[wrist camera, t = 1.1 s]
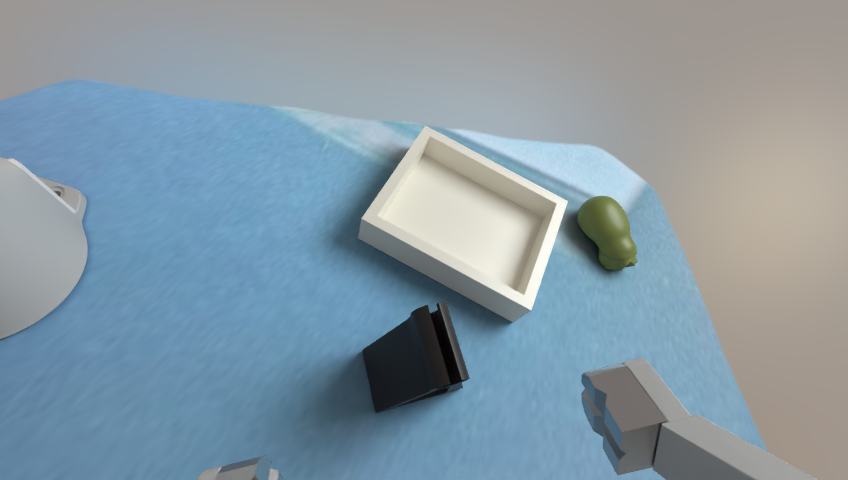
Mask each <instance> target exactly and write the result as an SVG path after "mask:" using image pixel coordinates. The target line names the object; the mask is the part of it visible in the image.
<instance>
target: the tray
mask: <svg viewBox="0 0 848 480" xmlns="http://www.w3.org/2000/svg"><path fill="white" fill-rule="evenodd" d="M567 203H568V201H566V200H564V199H562V198H560V197H559V196H557V195H555V194H553V193H551V192H549V191H547V190H545V189H544V188H542V187H540V186H538V185H536V184H534V183H532V182H530V181H529V180H527V179H525V178H523V177H521V176H519V175H517V174H515V173H513V172H512V171H510V170H508V169H506V168H504V167H502V166H500V165H498V164H497V163H495V162H493V161H491V160H489V159H487V158H485V157H483V156H482V155H480V154H478V153H476V152H474V151H472V150H470V149H468V148H467V147H465V146H463V145H461V144H459V143H457V142H455V141H453V140H452V139H450V138H448V137H446V136H444V135H442V134H440V133H438V132H437V131H435V130H433V129H431V128H429V127H427V126H425V127H424V128H423V130H422V131H421V133H420V134H419V136H418V137H417V139H416V140H415V142H414V143H413V144H412V146H411V147H410V149H409V150H408V152H407V153H406V155H405V156H404V157H403V159H402V160H401V162H400V163H399V165H398V166H397V168H396V169H395V171H394V172H393V173H392V175H391V176H390V178H389V179H388V181H387V182H386V184H385V185H384V186H383V188H382V189H381V191H380V192H379V194H378V195H377V197H376V198H375V200H374V201H373V202H372V204H371V205H370V207H369V208H368V210H367V211H366V213H365V214H364V215H363V217H362V218H361V224H360V229H359V235H358V239H360V240H362V241H364V242H365V243H367V244H369V245H371V246H373V247H375V248H376V249H378V250H380V251H382V252H384V253H386V254H388V255H389V256H391V257H393V258H395V259H397V260H399V261H400V262H402V263H404V264H406V265H408V266H410V267H411V268H413V269H415V270H417V271H419V272H421V273H423V274H424V275H426V276H428V277H430V278H432V279H434V280H435V281H437V282H439V283H441V284H443V285H445V286H447V287H448V288H450V289H452V290H454V291H456V292H458V293H459V294H461V295H463V296H465V297H467V298H469V299H470V300H472V301H474V302H476V303H478V304H480V305H482V306H483V307H485V308H487V309H489V310H491V311H493V312H494V313H496V314H498V315H500V316H502V317H504V318H505V319H507V320H509V321H511V322H515V321H516V320H518V319H519V318H521V317H522V316H524V315H525V314H527V313H528V312H530V311H531V310H532V307H533V304H534V301H535V298H536V295H537V292H538V289H539V286H540V283H541V280H542V277H543V274H544V271H545V268H546V265H547V262H548V259H549V256H550V253H551V250H552V247H553V244H554V241H555V238H556V235H557V232H558V229H559V226H560V223H561V220H562V217H563V214H564V211H565V208H566V206H567Z"/></svg>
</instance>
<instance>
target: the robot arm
mask: <svg viewBox="0 0 848 480" xmlns="http://www.w3.org/2000/svg"><path fill="white" fill-rule="evenodd" d="M58 195H60V196H58ZM86 203H87V201H86V197H85V196H84V195H83V194H82V193H81V192H79V191H78V190H76V189H74V188H71V187H68V186H65V185H62V184H59V183H56V182H53V181H50V180H47V179H44V178H41V177H38V176H35V175H34V174H33V173H31V172H30V171H29V170H28V169H27V168H26V167H24V166H23V165H22V164H21V163H19V162H18V161H16V160H14V159H12V158H10V159H4V158H2V157H0V339H2V338H5V337H7V336H10V335H12V334H15V333H17V332H19V331H21V330H23V329H25V328H27V327H29V326H31V325H32V324H34V323H36V322H37V321H39V320H40V319H42V318H43V317H45V316H46V315H47V314H49V313H50V312H51V311H52V310H54V309H55V308H56V307H57V306H58V305H59V304H60V303H61V302H62V301H63V300H64V299H65V298H66V297H67V296H68V295H69V294H70V292H71V291H72V290H73V288H74V287H75V285H76V284H77V282H78V281H79V279H80V277H81V275H82V273H83V270H84V268H85V264H86V260H87V253H88V247H87V240H86V236H85V233H84V230H83V225H82V219H83V216H84V213H85V209H86ZM582 384H583V386H584V387H585V390H584V391H583V392H582V393H581V395H582V404H583V408H584V412H585V414H586V417H587V419H588V421H589V423H590V425H591V427H592V429H593V431H595V432H596V433H598V434H599V435H601V436H602V437H603V449H604V451H605V453H606V455H607V457H608V459H609V460H610V462H611V464H612V466H613V468H614V470H615V471H616V473H617V475H621V474H625V473H629V472H634V471H638V470H643V469H647V468H651V467H653V470H654V471H656V472H657V473H658V474H660V475H661V476H662V477H664V478H665V479H666V480H818V479H816V478H814V477H812V476H810V475H808V474H806V473H805V472H803V471H801V470H799V469H797V468H795V467H793V466H792V465H790V464H788V463H786V462H784V461H782V460H781V459H779V458H777V457H775V456H773V455H771V454H769V453H768V452H766V451H764V450H762V449H760V448H758V447H756V446H755V445H753V444H751V443H749V442H747V441H745V440H744V439H742V438H740V437H738V436H736V435H734V434H732V433H731V432H729V431H727V430H725V429H723V428H721V427H719V426H718V425H716V424H714V423H712V422H710V421H708V420H706V419H705V418H703V417H701V416H699V415H692V416H691V415H690V414H689V413H688V412H687V410H686V409H685V408H684V406H683V405H682V404H681V403H680V401H679V400H678V399H677V398H676V396H675V395H674V394H673V393H672V391H671V390H670V389H669V388H668V386H667V385H666V384H665V383H664V381H663V380H662V379H661V378H660V376H659V375H658V374H657V373H656V371H655V370H654V369H653V368H652V366H651V365H650V364H649V363H648V361H646V360H645V359H643V358H638V359H634V360H631V361H627V362H624V363H618V364H614V365H610V366H607V367H603V368H600V369H596V370H592V371H589V372H585V373H583V375H582ZM271 463H272V462H271V461H270V460H269V459H268V458H267V456H266V455H265V456H261V457H257V458H253V459H249V460H245V461H241V462H237V463H233V464H229V465H224V466H220V467H216V468H213V469H209V470H205V471H203V472H202V473H201V475H200V476H199V477H198V479H197V480H284V478H283V476H282V475H281V473H280V472H279V471H276V470H273V469H270V468H271Z"/></svg>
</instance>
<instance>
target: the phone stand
mask: <svg viewBox="0 0 848 480" xmlns="http://www.w3.org/2000/svg"><path fill="white" fill-rule="evenodd" d="M437 307H438V310H436V311H434V312H432V313H430V312H429V308H428V305H426V306H423V307H420V308H418V309H416V310H414V311H413V312H412V313H411V316H410V317H409V318H408V319H407V320H406V321H404V322H403V323H402V324H400V325H399V326H397V327H396V328H394V329H393V330H391V331H390V332H388V333H387V334H385V335H384V336H382V337H381V338H379V339H378V340H376V341H375V342H374V343H372V344H371V345H369V346H368V347H366V348H365V349H363V355H364V360H365V365H366V369H367V374H368V379H369V383H370V388H371V393H372V398H373V402H374V407H375V412H376V413H378V412H381V411H385V410H388V409H392V408H395V407H399V406H402V405H406V404H409V403H412V402H416V401H419V400H423V399H426V398H430V397H433V396H437V395H440V394H443V393H447V392H450V391H454V390H457V389H461V388H463V386H462V382H464V381H466V380H468V379H470V378H469V375H468V372H467V369H466V366H465V362H464V359H463V356H462V353H461V350H460V346H459V343H458V340H457V337H456V333H455V330H454V327H453V324H452V321H451V317H450V314H449V311H448V308H447V305H446V303H437Z"/></svg>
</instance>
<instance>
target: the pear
mask: <svg viewBox="0 0 848 480" xmlns="http://www.w3.org/2000/svg"><path fill="white" fill-rule="evenodd" d="M578 223H579V225H580V227H581V229H582V230H583V232H584V233H585V234H586V235H587V236H588V237H589V238H590V239H592V240H593V241H594V242H595V243H596V244H597V246H598V248H599V261H600V263H601V264H602V265H603V266H604V267H605V269H609V270H612V269H614V270H621V269H623V268H625V267H628V266H635V263H637V259H636V257H635V255H636V254H637V250H636V246H635V243H634V241H633V240H632V238H631V235H630V225H629V221H628V218H627V216H626V214H625V212H624V210H623V209H622V207H621V206H620V205H619V203H618V202H616V201H615V200H614V199H612V198H610V197H607V196H597V197H593V198H591V199H589V200H587V201H586V202H585V203H583V204H582V206H581V207H580V209H579V211H578Z"/></svg>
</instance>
